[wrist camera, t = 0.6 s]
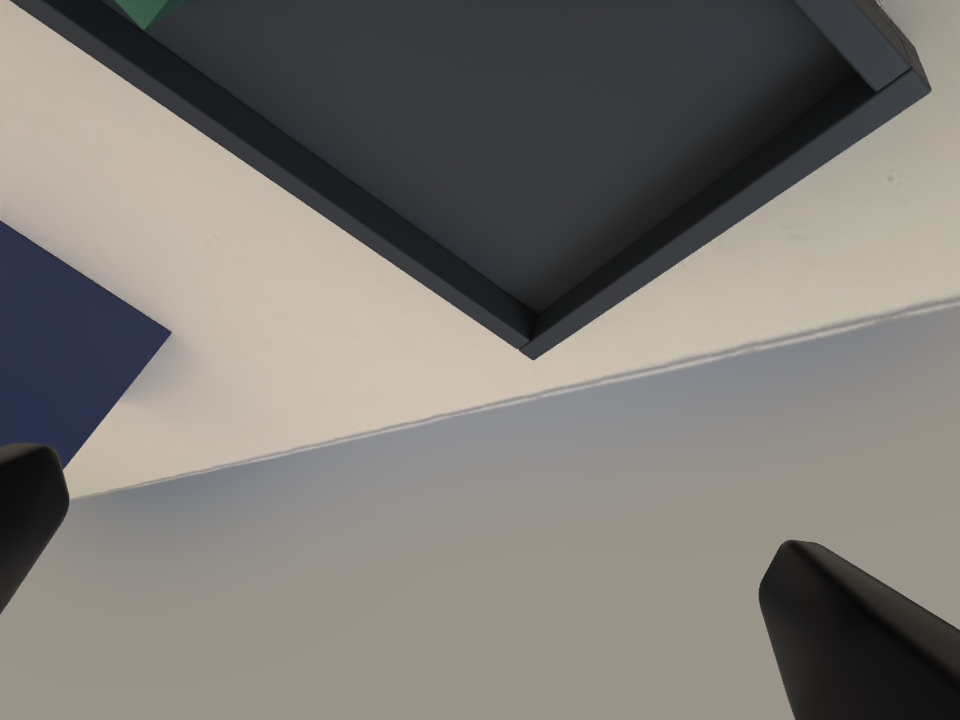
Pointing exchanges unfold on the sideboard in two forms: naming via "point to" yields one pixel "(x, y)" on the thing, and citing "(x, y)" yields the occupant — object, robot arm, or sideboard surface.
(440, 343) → the sideboard surface
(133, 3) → the brown post on base
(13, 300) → the phone stand
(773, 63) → the tray
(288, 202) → the sideboard surface
